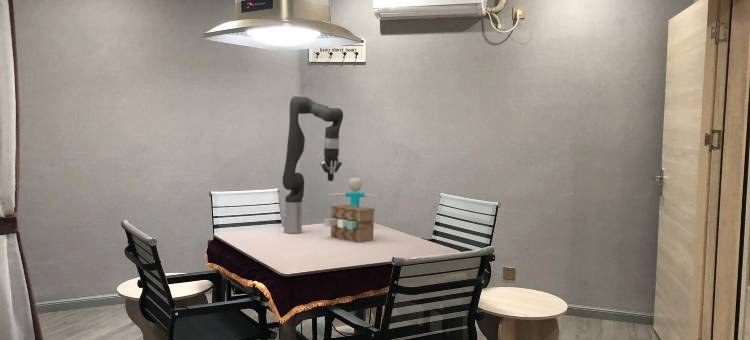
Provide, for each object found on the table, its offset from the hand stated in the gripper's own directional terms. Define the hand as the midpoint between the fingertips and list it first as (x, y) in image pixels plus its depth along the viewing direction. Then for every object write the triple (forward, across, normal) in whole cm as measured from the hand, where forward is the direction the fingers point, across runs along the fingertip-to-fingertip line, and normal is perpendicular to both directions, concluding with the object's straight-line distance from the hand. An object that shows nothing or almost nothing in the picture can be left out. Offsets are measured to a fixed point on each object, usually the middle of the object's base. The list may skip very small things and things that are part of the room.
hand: (330, 180), depth 339 cm
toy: (+34, -39, -23) cm, 56 cm away
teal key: (+24, -11, +9) cm, 28 cm away
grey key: (+25, -7, -5) cm, 26 cm away
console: (+32, -15, +2) cm, 35 cm away
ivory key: (+24, -11, +2) cm, 27 cm away
